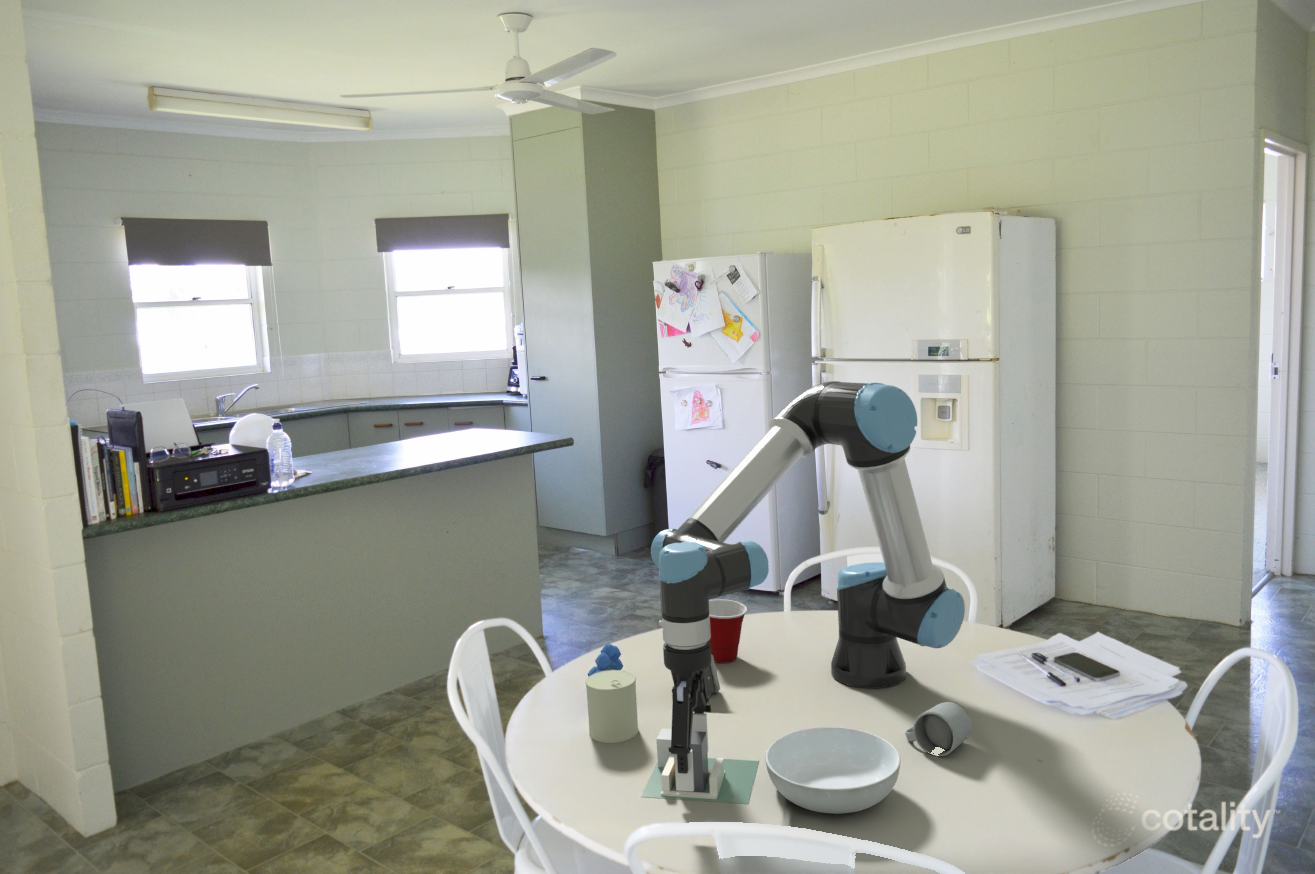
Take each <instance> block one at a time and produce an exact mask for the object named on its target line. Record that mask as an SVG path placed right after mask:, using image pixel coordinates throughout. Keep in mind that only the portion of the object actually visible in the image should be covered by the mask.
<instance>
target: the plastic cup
mask: <svg viewBox="0 0 1315 874" xmlns="http://www.w3.org/2000/svg"><path fill="white" fill-rule="evenodd" d="M747 612H748V608H747V606H746V605H745V604H743V603H742V602H739V601H735V600H731V599H716V598H714V599H710V600H709V615H710V633H711V638H710V639H709V642H710V643H711V654H712V655H713V658H714V662H715V663H719V664H727V663H728V664H729V663H732V662H734V661H736V660H737V657H738V654H739V653H738V652H739V645H740V639H741V633H742V626H743V621H744V618H745V615H746V614H747Z"/></svg>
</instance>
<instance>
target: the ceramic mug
mask: <svg viewBox="0 0 1315 874" xmlns="http://www.w3.org/2000/svg"><path fill="white" fill-rule="evenodd" d="M972 726H973V725H972V720H971V716H970V715H969V713H968V712H967V710H966V709H965V708H964V707H963V706H961V705H960V704H957V703H956V702H951V701H944V702H941V703H938V704H936V705H935V706H933V707H931V708H929V709H928V710H926V711H924V712H922V713H921V714H919V715H918V716H917V717H916V719H915V721H914V723H913V726H912V727H910V728H908V729H907V730H906V731H904V735H905V736H906V739H907V741H908V742H917V745H918V746H919V747H920V748H921V749H922V751H924V752H925V753H927V752H929V753H931V752H932V750H934V749H935V747H940V748H942V749H944V750H945V751H943V752H942V753H940V754H938V755H939V756H942V757H945V756H948V755H949V754H951V753H952V752H954V750H955V749H957V748H958V747H959V746H960V745H961V744H962V743H964V742H965V741H966V740H967V739H968V737H969V735H970V734H971V730H972ZM933 754H934V753H933Z"/></svg>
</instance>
